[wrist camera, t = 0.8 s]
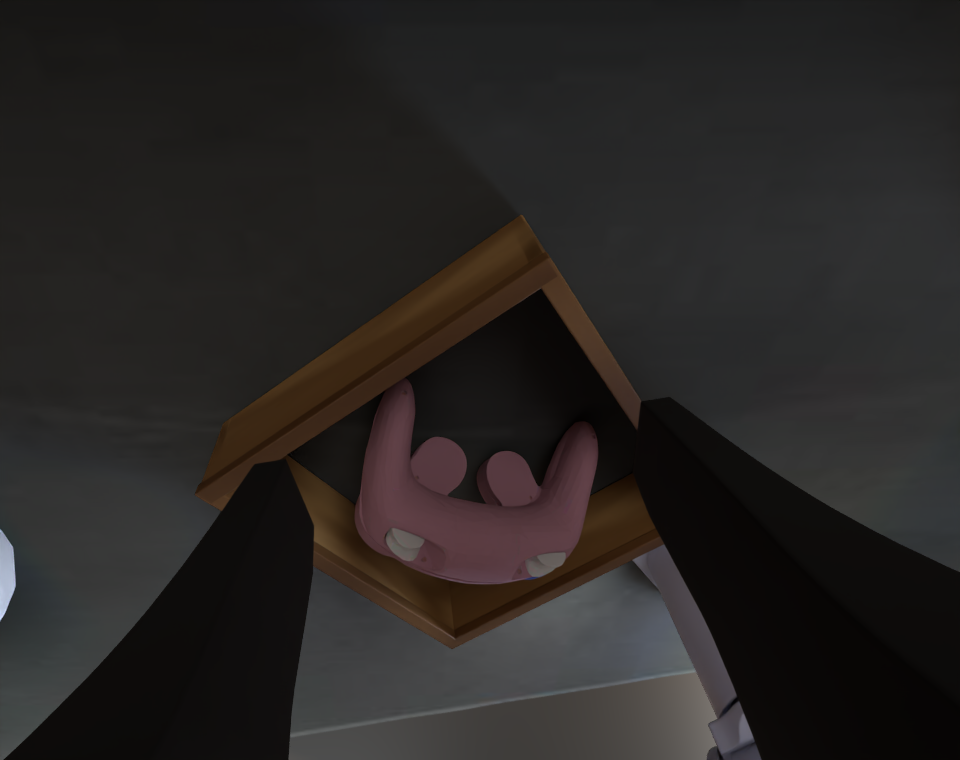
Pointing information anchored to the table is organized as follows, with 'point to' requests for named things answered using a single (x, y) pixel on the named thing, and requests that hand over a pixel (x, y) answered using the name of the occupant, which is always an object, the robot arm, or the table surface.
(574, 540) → the video game controller
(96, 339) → the table surface
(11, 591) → the seamed sphere
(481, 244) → the wooden frame
